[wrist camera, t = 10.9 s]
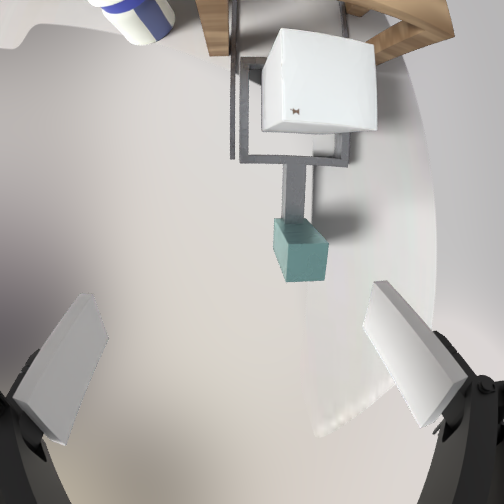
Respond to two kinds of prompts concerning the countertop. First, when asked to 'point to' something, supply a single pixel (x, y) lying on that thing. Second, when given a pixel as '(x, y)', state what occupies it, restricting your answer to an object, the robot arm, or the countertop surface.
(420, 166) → the countertop surface
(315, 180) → the countertop surface
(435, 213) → the countertop surface
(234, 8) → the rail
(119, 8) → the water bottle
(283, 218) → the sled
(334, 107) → the supplement box
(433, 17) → the bridge
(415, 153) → the countertop surface
